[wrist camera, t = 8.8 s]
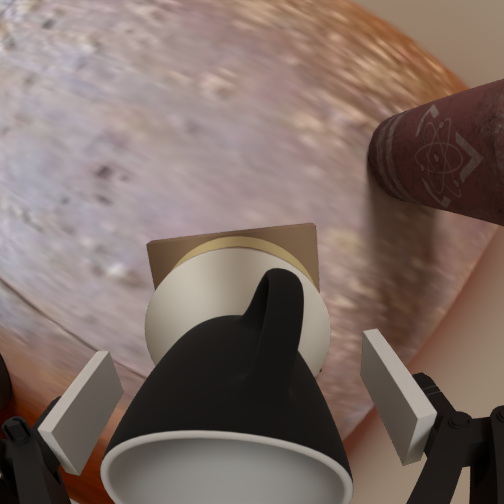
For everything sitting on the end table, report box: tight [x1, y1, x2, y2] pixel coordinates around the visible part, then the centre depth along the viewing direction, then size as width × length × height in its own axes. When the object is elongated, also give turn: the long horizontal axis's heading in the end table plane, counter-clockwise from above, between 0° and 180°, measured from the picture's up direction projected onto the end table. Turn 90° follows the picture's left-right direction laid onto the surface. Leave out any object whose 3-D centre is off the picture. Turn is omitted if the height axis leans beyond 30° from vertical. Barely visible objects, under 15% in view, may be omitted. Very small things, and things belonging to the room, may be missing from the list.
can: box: [369, 79, 504, 226], centre depth 13 cm, size 6×6×14 cm
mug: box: [101, 268, 353, 504], centre depth 13 cm, size 12×9×10 cm
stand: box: [145, 223, 331, 378], centre depth 20 cm, size 11×11×5 cm
